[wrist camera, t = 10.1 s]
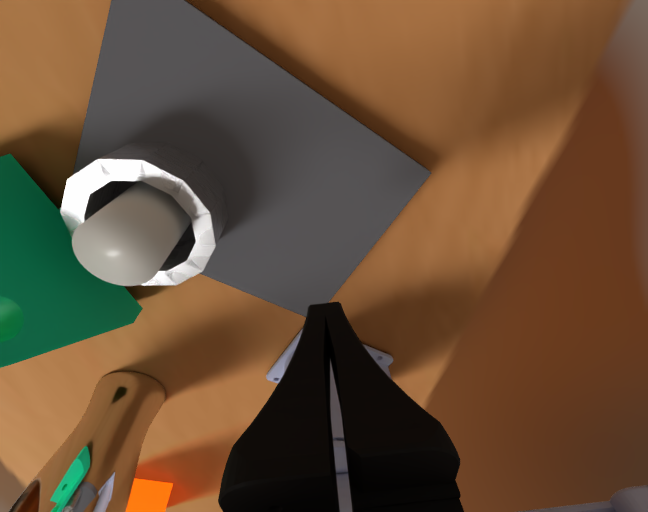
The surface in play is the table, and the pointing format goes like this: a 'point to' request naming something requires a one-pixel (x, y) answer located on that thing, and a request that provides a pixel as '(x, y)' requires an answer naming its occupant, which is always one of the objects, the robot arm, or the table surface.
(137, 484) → the orange juice
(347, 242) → the mat
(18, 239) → the camera mount
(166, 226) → the plug cap
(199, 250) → the sleeve
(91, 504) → the beer glass
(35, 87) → the table surface
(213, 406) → the table surface
